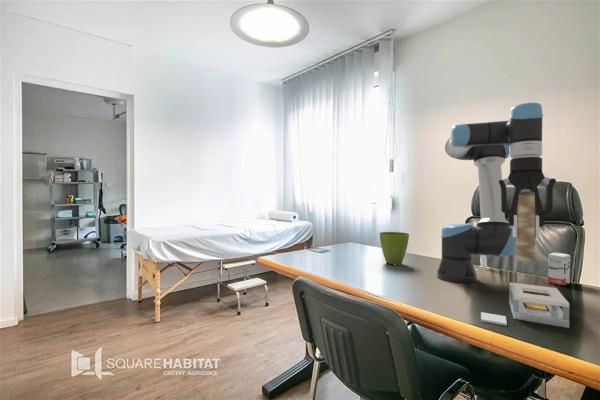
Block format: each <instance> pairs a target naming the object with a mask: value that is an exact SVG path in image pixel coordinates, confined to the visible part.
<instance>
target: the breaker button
mask: <svg viewBox="0 0 600 400" xmlns="http://www.w3.org/2000/svg"><path fill="white" fill-rule="evenodd" d="M525 308H528V309H535V310H541V311H547V308H546V306H545V305H544V304H537V303H530V302H525Z"/></svg>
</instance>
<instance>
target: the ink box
mask: <svg viewBox="0 0 600 400" xmlns="http://www.w3.org/2000/svg"><path fill="white" fill-rule="evenodd" d="M547 266H548V267H547V270H548V271H547V284H549V283H552V284H551V285H555V284H559V285H558V286H560V285H564V286H566V285H568V284H570V280H571V279H570V278H571V254H568V253H563V252H552V253H549V254H548V265H547ZM567 283H568V284H567ZM565 284H566V285H565Z"/></svg>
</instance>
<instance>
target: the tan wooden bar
mask: <svg viewBox="0 0 600 400" xmlns="http://www.w3.org/2000/svg"><path fill="white" fill-rule="evenodd" d="M516 215H517V238H516V246H515V249H516V256H515V257H516V260H517V261H521V262H525V263H526V262H527V263H528V262H529V263H532V262H533V263H534V262H536V238H535V215H536V208H535V192H531V191H521V192H519V198H518V202H517V205H516Z"/></svg>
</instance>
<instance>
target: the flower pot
mask: <svg viewBox="0 0 600 400" xmlns="http://www.w3.org/2000/svg"><path fill="white" fill-rule="evenodd" d="M378 234H379V241H380V245H381V250H382V254H383V257H384V260H385V263H386V264H387V263H389V264H395V265H394V266H400V265H399V264H401V265H402V264H403V261H404V258H405V256H406V252H407V248H408V245H409V244H408V243H409V239H410V238H409V237H410V233H407V232H401V231H399V232H398V231H380V232H379V233H378ZM389 264H388V265H389Z"/></svg>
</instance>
